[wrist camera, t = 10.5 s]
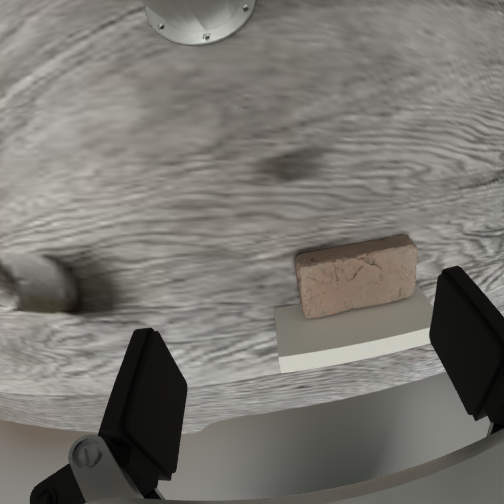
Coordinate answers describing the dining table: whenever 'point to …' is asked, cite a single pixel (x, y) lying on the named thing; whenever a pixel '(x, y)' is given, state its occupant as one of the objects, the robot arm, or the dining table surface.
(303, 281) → the brick
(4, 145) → the dining table surface
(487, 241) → the dining table surface
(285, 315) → the grey bookend
